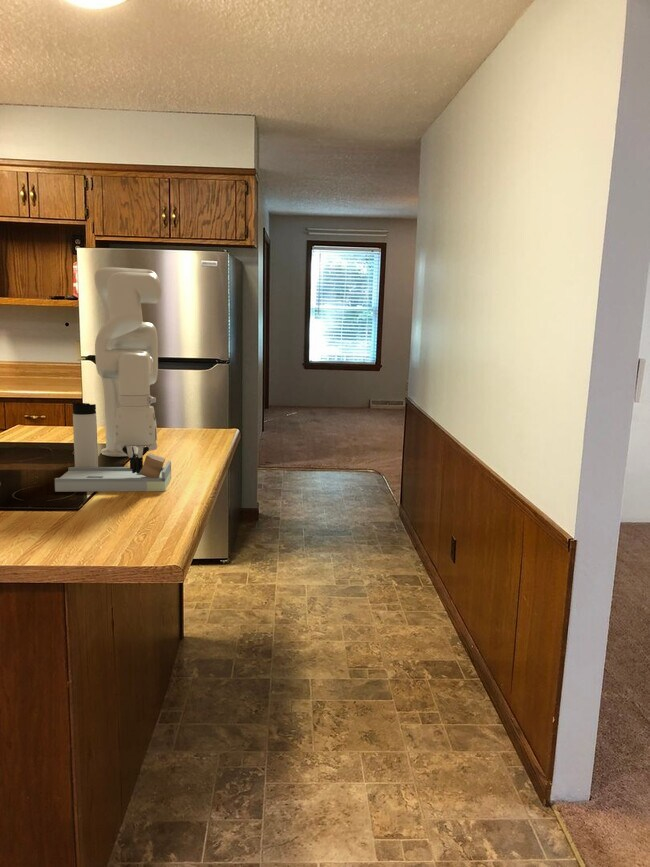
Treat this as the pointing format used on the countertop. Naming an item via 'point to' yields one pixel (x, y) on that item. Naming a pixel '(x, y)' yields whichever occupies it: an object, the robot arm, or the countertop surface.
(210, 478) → the countertop surface
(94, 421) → the travel mug
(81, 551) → the countertop surface
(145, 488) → the trap box
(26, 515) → the countertop surface
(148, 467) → the block
